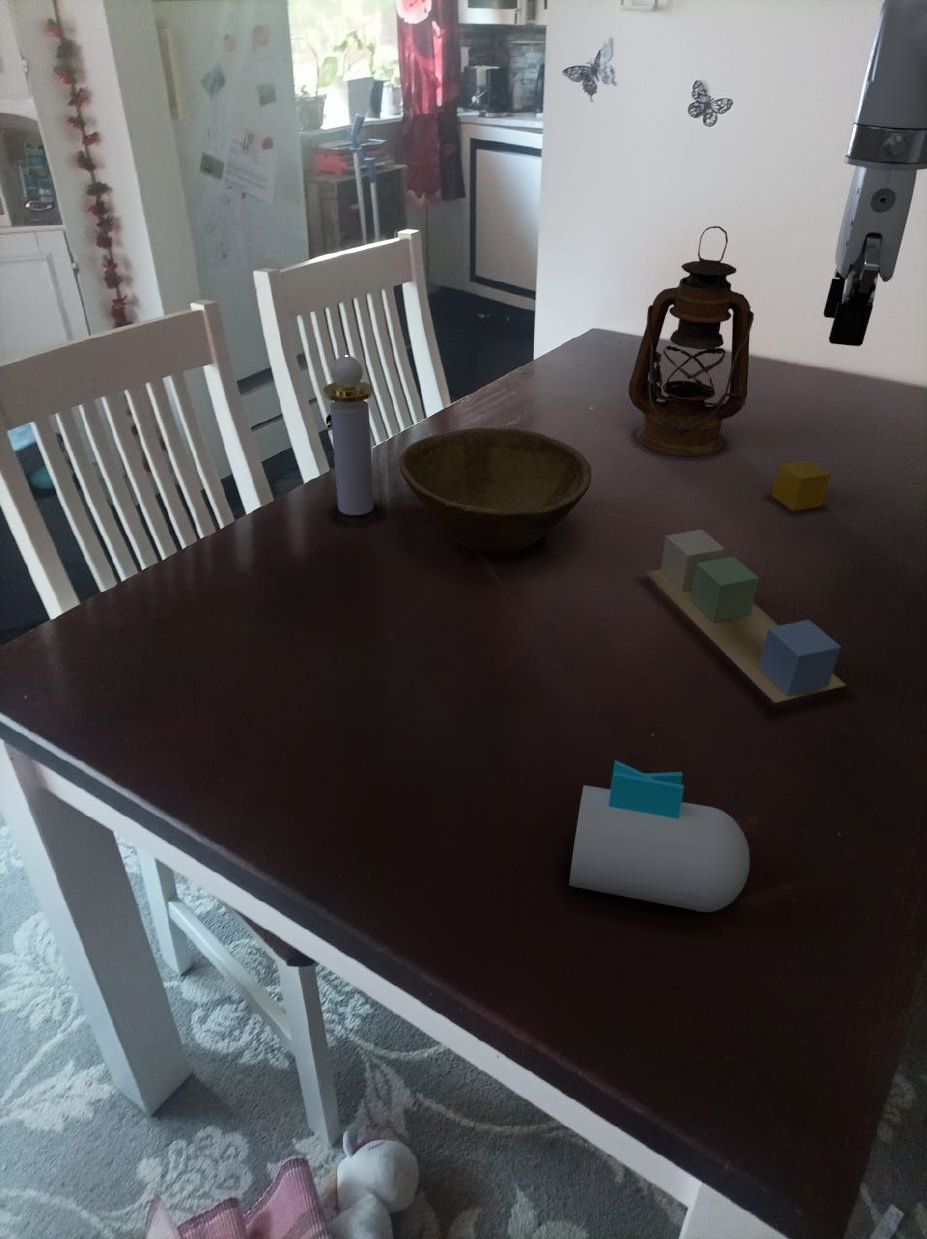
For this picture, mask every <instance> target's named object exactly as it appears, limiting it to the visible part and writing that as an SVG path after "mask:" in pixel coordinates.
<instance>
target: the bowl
mask: <svg viewBox="0 0 927 1239" xmlns="http://www.w3.org/2000/svg"><path fill="white" fill-rule="evenodd" d="M398 467H399V471H400V473H401V475H402V477H403V478H404V481H405V482H406V484H407V485H408V487H409V489H411V491H412V493H413V494H414V496H415V497H416V498H417V500H418V501H419V503H420V504H421V505H422V507H423V508H424V509H425V510H426V511H427V513H428V514H429V515H430V516H431V517H432V518H433V520H434V521H435V522H436V524H438V525H439V526H440V527H441V528H442V529H443V530H444V531H446V532H447V533H448V534H449V535H450V536H451V537H452V539H454V540H455V541H456V542H457V543H458V544H459V545H460V546H461V547H462V548H464V549H465V550H467V551H470V552H473V553H476V554H481V555H483V553H484V552H485V553H493V554H515V553H520V552H522V551H525V550H527V549H528V548H529V547H531V546H533V545H534V544H536V543H537V542H538V541H539V540H540V539H541V538H543V537H544V536H545V535H547V534H548V533H549V532H551V531H552V530H554V528H556V527H557V525H558V524H559V523H560V522H561V521H563V519H565V517H566V516H568V514H569V513H571V511H572V510H573V509H574V508H575V506H576V505H577V504H578V503H579V502H580V501H581V499H582V498H583V497H584V495H585V494H586V493H587V491H588V490H589V488H590V485H591V482H592V467H591V465H590V463H589V462H588V461H587V459H586V458H585V456H584V455H583V454H582V453H581V452H580V451H578V450H577V449H575V448H574V447H573V446H571V445H569V444H567V443H565V442H562V441H560V440H557V439H554V438H552V437H549V436H548V435H547V436H546V435H544V434H542V433H539V432H535V431H532V430H524V429H518V428H495V427H494V428H489V427H485V428H484V427H483V428H482V427H481V428H480V427H478V428H475V427H474V428H467V429H460V430H454V431H452V432H451V431H450V432H445V433H444V432H443V433H438V434H435V435H431V436H428V437H426V438H422V439H419V440H417V441H416V442H414V443H411V444H410V445H409V446H408V447H407V448H406V449H404V451H403V452H402V453H401V455H400V456H399V459H398ZM482 552H483V553H482Z"/></svg>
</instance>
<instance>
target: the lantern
mask: <svg viewBox="0 0 927 1239" xmlns="http://www.w3.org/2000/svg"><path fill="white" fill-rule="evenodd" d="M710 229H719V230H720V231H722V232H723V233H724V234H725V235H724V236H725V245H724V249H723V251H722V253H721V257H720V258H719V259H718V260H717V259H715V260H714V259H704V258H703V257H702V256H701V253H700V252H701V244H702V239H703V236H704V235H705V232H707V231H709V230H710ZM728 238H729V237H728V233H727V230H725V229H724V228H722V227H721V226H720V225H719V226H718V225H714V226H708V227H707V228H705V229H704V230H703V232H702V234H701V236H700V237H699V245H698V250H697V251H698V252H697V256H698V260H692V261H689V262H685V263H683V264H682V265H681V266H680V268H682V270H683V271H684V272H686V273H687V274H689V275H688V276H684V277H682V278H680V279H679V284H678V286H676V287H668V288H664V289H663V290H662V291H660V292H659V293H657V295H656V296H655V298H654V299H653V302H652V304H650V305H649V306H648V307H647V312H646V325H645V330H644V332H643V336H642V340H641V342H640V345H639V348H638V353H637V356H636V359H635V364H634V368H633V371H632V374H631V378H630V380H629V384H628V395H629V400H630V401H631V403H632V405H633V406H634V407H635V408H636V409H638V410H639V411H640V412H641V413H643V421H642V425H641V426H640V427H639V428H638V429H637V430H636V433H635V437H636V440H637V441H638V443H639V444H640V445H642V446H644V447H645V448H647V449H649V450H652V451H653V452H655V453H661V454H664V455H668V456H669V455H670V456H677V457H687V458H689V457H700V456H701V457H702V456H709V455H710V454H711V455H712V454H715V453H717V452H719V451H720V450H721V449H722V448H723V446H724V441H723V437H722V435H721V428H722V423H723V420H726V419H728V418H731V417H733V416H735V415H736V414H737V413H739V412H740V411H741V410H742V408H743V406H746V399H747V396H748V382H749V379H748V378H749V360H750V359H749V358H750V335H751V329H752V327H753V323H754V319H755V313H754V312H753V311H751V305H750V303H749V300H748V299H747V298H746V296H745V294H743V293H740V292H737V291H733V290H732V283H731V282H730V281H728V280H727V277H728V276H731V275H734V274H737V270H738V269H737V268H736V267H735V266H732V265H731V264H729V263H726V262H722V260H723V259H724V256H725V252H726V250H727V246H728V242H729V239H728ZM730 310H732V314H731V312H730ZM668 312H669V314H670V315H671V316H672V317H674V318H677V319H678V325H677V328H676V330H674V331H673V332H672V333H671V335H670V337H669V341H670V342H671V343H672V344H673V345H676V346H678V347H682V348H686V349H687V348H688V349H694V350H701V351H698V352H697V353H695V354H691V353H690V352H687V351H686V350H683V349H680V348H678V347H676V346H671V345H666V346H664V348H663V349H662V352H663V354H661V353H660V352H658V351H657V348H658V345H659V342H660V338H661V335H662V330H663V327H664V323H665V321H666V316H667V314H668ZM731 318H732V322H731V323H732V324H731V325H732V326H731V355H730V356H731V357H730V359H731V361H730V370H729V374H728V379H727V383H726V388H725V390H724V394H722V396H721V397H720V398H719V400H718V401H717V402H716V403H715V402H706V401H707V400H709V399H711V398H713V397H715V395H716V390H715V388H714V387H715V384H714V383H713V380H712V378H711V377H708V380H709V384H710V385H707V384H705V383H703V382H702V381H701V380H700V379H697V377H699V376H701V374H703V373H705V374H706V375H707V374H708V375H707V376H709V371H711V370H712V369H713V368H715V367H717V366H718V365H720V364H722V362H723V361H724V359H725V357H726V353H727V351H726V350H725V349H724V348H723V347H722V346H723V345H724V337H723V334H721V333H720V331H721V323H723V322H728V321H729V320H730V319H731ZM666 351H673V352H679V353H680V354H682V355H685V356H686V357H687V359H686V360H685V361H684V362H682V363H681V364H680V365H679V366H677V363H675V362H674V360H673V359H672V358H671V357H670V356H669V355H668V353H667V352H666ZM706 354H712V355H716V354H717V355H720V354H722V355H721V357H720V358H719V360H717V361H716V362H714V363H712V364H708V365H706V366H705V365H704V364H703V362H702V361H701V360H699V359H698V357H700V356H702V355H706ZM663 355H664V356H665V358H666V359H667V360H668V361H669V362H670V363H671V364H672V365H673V366H674V367H675V368H676V369H674V370H673V372H672V373H671V374H670V375H669V377H668V378H667V379H666V382H665V383H664V382H663V378H662V377H663V375H662V370H661V364H662V362H661V361H662V357H663ZM691 360H694V361H695V362H696V364H698V365H699V367H700V368H701V369H699V370H697V371H696V372H695V373H693V374H690V373H688V372H687V371H686V370H685V369H684V368H683V367H684V366H685V365H686V364H688V362H690V361H691ZM655 363H656V366H655ZM678 370H679V372H681V373H682V374H683V375H684V376H685V378H687V379H688V380H687V379H686V380H671V381H670V379H671V378H672V377H673V376H674V374H676V372H677V371H678ZM691 379H693V380H694V381H692V380H691ZM690 380H691V381H690ZM658 384H659V385H658ZM662 391H663V392H664V393H665V394H666V395H667V396H666V395H664V394H662V393H663V392H662ZM726 397H728V398H727V400H726ZM659 400H660V401H659ZM661 400H662V401H661Z"/></svg>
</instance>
